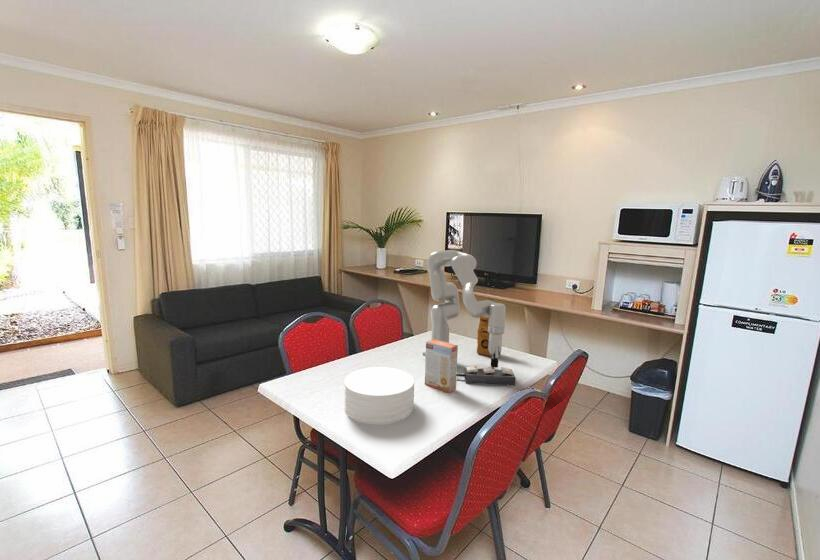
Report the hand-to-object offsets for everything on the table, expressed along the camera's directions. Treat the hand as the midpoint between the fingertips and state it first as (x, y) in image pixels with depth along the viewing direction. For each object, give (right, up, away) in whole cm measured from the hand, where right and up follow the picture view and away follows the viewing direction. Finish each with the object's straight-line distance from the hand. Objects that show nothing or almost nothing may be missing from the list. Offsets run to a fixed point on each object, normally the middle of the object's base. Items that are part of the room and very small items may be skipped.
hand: (494, 366), depth 184 cm
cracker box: (-26, -8, -7) cm, 28 cm away
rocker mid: (-2, -3, +1) cm, 4 cm away
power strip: (-5, -7, +1) cm, 9 cm away
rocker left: (-10, -3, +1) cm, 11 cm away
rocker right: (+6, -3, 0) cm, 7 cm away
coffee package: (+5, -2, +39) cm, 39 cm away
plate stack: (-53, -10, -27) cm, 60 cm away
